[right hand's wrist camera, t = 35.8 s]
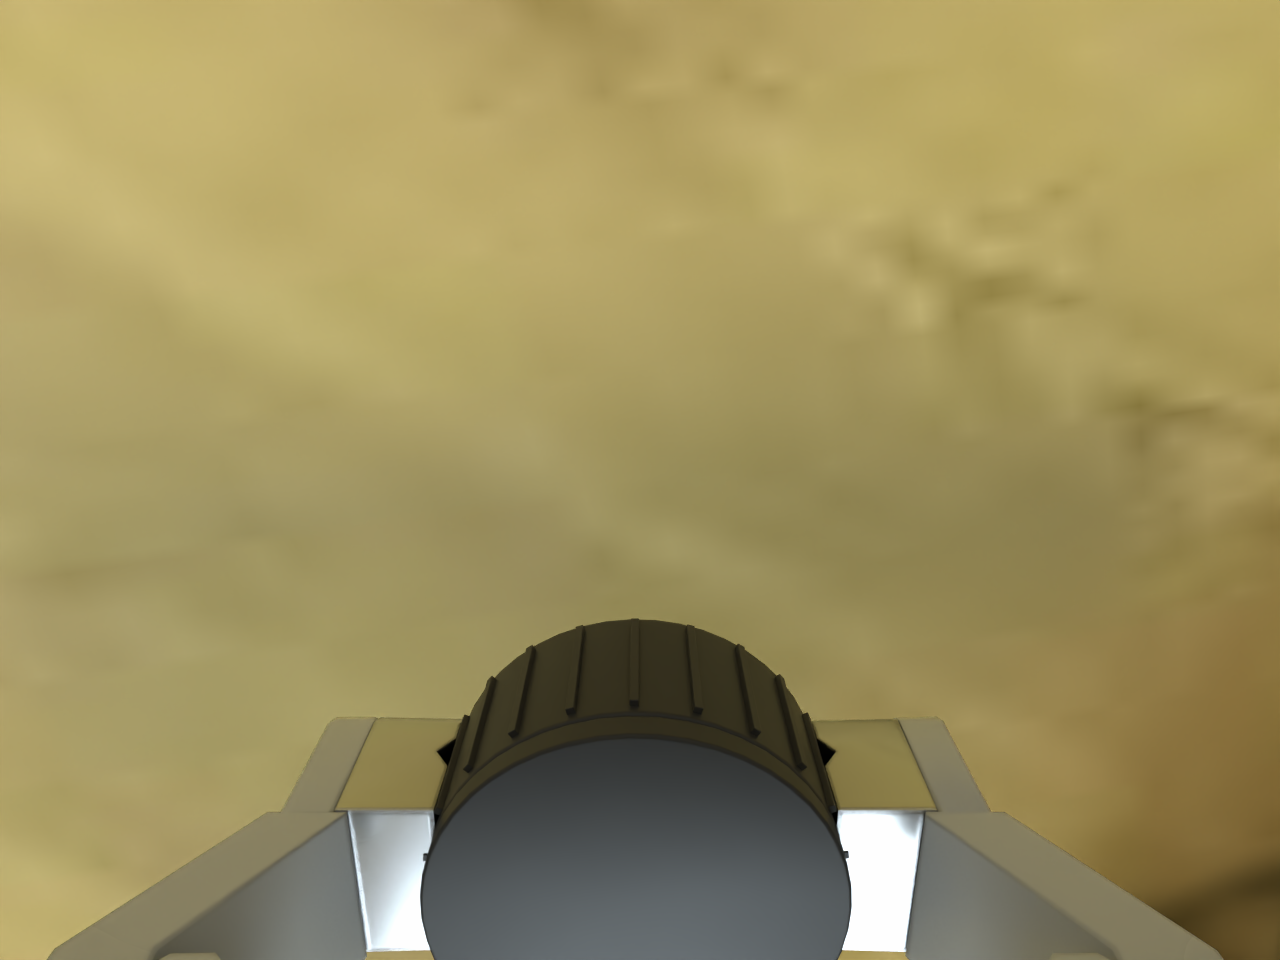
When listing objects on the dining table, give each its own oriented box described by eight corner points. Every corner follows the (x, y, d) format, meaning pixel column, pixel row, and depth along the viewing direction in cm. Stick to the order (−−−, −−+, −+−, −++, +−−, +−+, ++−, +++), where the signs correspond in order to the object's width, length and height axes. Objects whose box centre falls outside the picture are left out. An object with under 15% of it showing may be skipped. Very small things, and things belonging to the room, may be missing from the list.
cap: (768, 569, 9) (801, 678, 8) (852, 868, 11) (897, 1024, 9) (399, 667, 10) (341, 795, 8) (526, 943, 11) (503, 1106, 9)
